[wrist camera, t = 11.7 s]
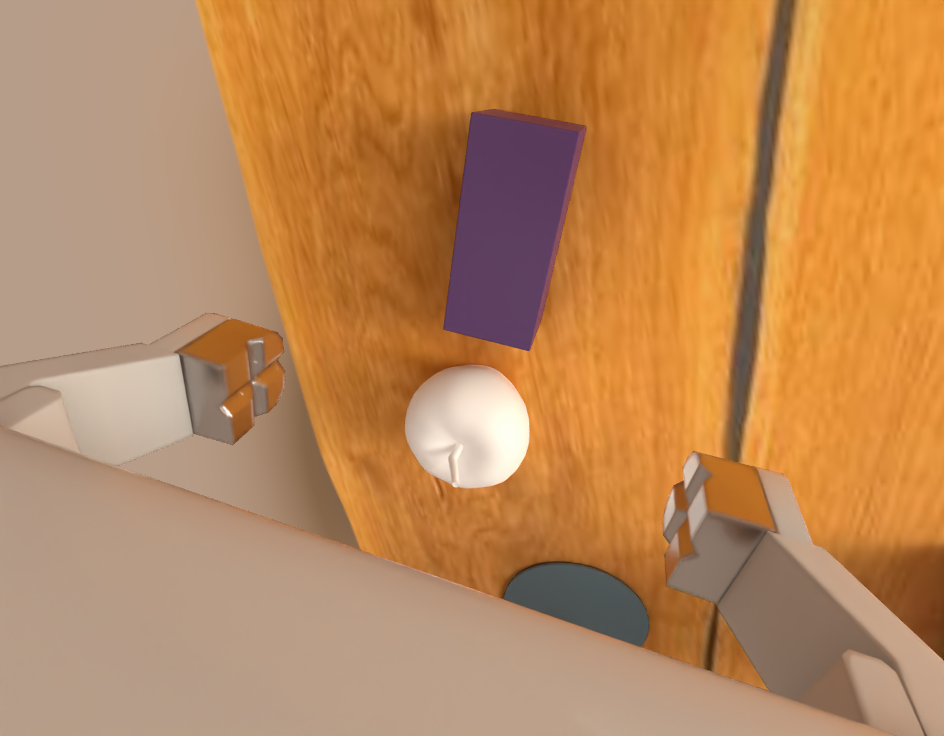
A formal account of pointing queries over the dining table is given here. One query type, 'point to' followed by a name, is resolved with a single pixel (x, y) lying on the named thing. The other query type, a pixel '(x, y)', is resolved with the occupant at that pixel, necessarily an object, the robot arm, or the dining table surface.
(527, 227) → the purple rectangular block
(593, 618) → the cocktail glass
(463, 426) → the plain white apple
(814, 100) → the dining table surface
